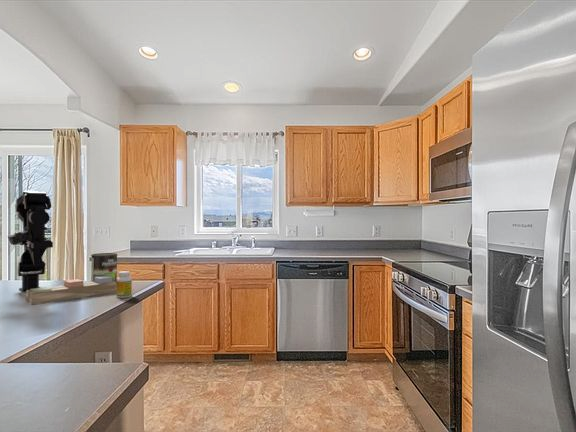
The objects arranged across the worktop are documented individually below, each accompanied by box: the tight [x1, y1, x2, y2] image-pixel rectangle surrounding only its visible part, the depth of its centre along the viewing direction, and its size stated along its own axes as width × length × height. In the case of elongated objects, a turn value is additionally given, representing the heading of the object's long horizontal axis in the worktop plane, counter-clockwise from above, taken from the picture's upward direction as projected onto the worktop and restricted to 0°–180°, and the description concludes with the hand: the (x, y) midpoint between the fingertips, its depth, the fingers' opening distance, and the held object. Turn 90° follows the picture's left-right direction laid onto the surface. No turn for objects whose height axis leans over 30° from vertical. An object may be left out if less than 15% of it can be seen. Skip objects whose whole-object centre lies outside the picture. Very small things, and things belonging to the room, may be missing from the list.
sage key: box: [31, 286, 51, 293], centre depth 132 cm, size 5×5×4 cm
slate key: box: [94, 276, 112, 284], centre depth 149 cm, size 5×5×4 cm
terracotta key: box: [63, 278, 84, 288], centre depth 140 cm, size 5×5×4 cm
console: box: [25, 281, 117, 306], centre depth 140 cm, size 7×29×4 cm, turn 140°
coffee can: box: [90, 252, 118, 286], centre depth 159 cm, size 10×10×14 cm
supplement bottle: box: [115, 270, 133, 299], centre depth 141 cm, size 5×5×10 cm
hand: (35, 265), depth 139 cm, fingers closed
